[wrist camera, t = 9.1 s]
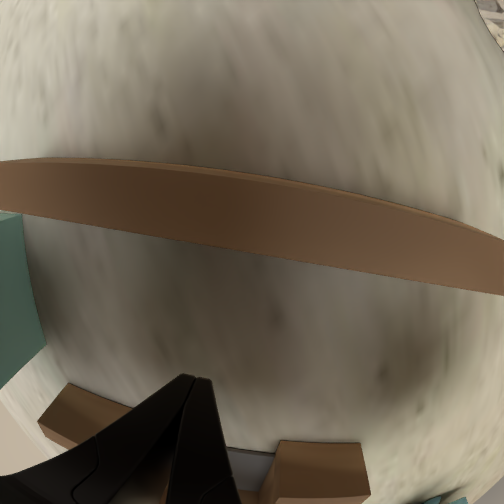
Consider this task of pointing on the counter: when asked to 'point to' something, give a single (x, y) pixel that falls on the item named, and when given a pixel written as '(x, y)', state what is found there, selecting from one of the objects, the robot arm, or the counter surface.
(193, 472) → the robot arm
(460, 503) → the teapot
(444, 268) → the brown walled enclosure
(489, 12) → the wineglass
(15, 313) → the teal block
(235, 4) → the counter surface
